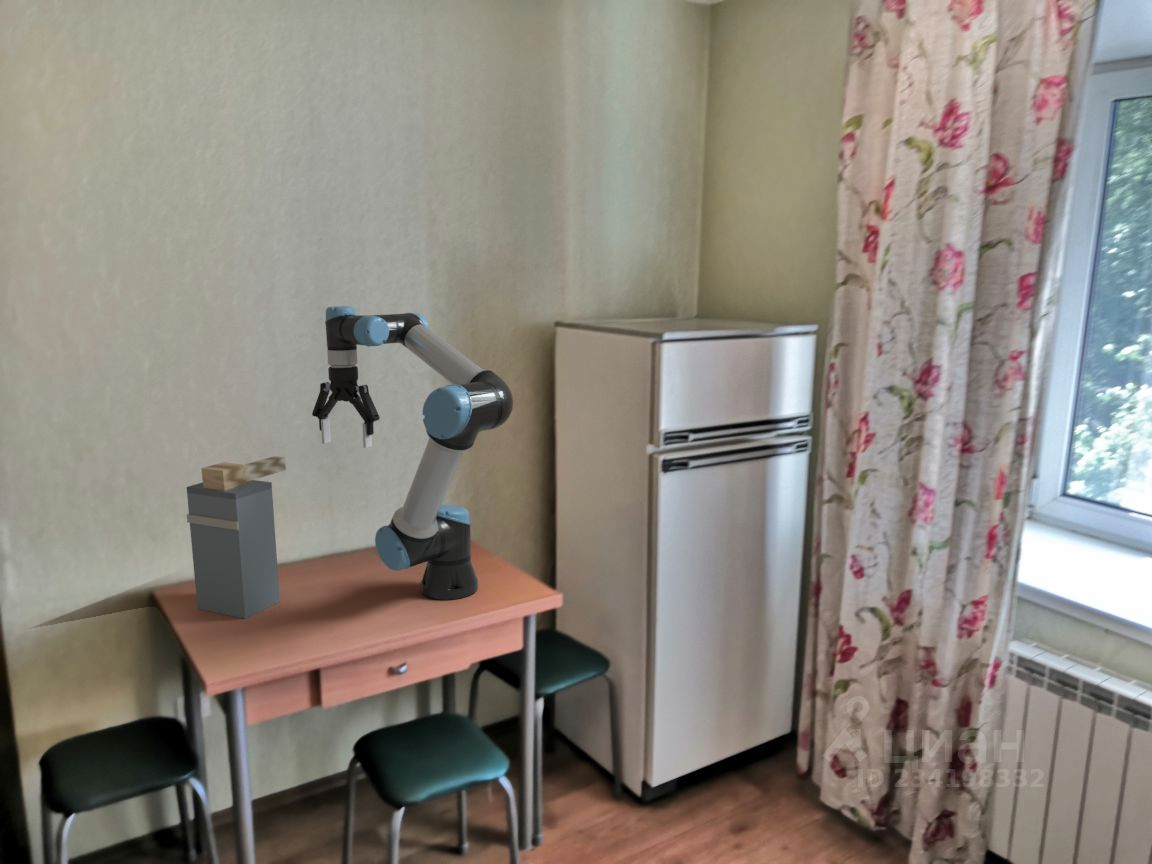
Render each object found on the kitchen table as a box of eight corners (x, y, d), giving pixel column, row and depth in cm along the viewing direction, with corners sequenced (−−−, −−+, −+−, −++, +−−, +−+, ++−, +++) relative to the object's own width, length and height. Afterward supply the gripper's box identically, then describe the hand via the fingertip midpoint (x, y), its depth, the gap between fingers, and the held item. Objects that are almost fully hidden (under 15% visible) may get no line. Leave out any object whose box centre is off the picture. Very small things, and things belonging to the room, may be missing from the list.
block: (270, 468, 231) (269, 450, 230) (290, 470, 229) (289, 452, 228) (203, 487, 211) (201, 468, 210) (224, 490, 208) (222, 470, 207)
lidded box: (280, 601, 222) (272, 482, 216) (244, 619, 211) (234, 494, 205) (232, 592, 228) (223, 476, 222) (195, 609, 217) (184, 487, 211)
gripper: (390, 366, 223) (394, 446, 227) (314, 362, 233) (319, 438, 237) (373, 369, 216) (376, 451, 220) (295, 365, 226) (300, 443, 230)
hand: (346, 445), depth 228 cm, fingers open, 13 cm apart
